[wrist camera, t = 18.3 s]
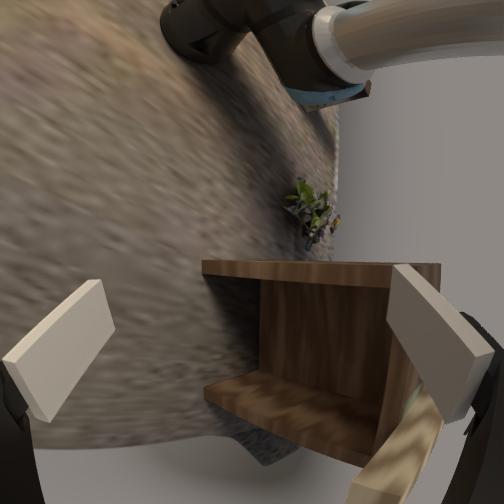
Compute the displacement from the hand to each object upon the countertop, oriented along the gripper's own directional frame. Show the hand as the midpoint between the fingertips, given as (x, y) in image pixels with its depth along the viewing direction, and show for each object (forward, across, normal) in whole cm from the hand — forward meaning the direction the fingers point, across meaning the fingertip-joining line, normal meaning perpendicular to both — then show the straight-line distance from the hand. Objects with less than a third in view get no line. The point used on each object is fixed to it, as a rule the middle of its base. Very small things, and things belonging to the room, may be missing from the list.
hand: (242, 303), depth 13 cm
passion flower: (+48, +6, -7) cm, 49 cm away
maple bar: (+6, +14, -20) cm, 25 cm away
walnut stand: (+31, -5, -21) cm, 38 cm away
